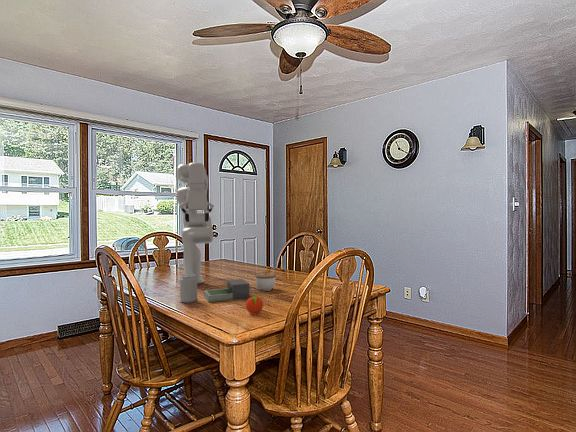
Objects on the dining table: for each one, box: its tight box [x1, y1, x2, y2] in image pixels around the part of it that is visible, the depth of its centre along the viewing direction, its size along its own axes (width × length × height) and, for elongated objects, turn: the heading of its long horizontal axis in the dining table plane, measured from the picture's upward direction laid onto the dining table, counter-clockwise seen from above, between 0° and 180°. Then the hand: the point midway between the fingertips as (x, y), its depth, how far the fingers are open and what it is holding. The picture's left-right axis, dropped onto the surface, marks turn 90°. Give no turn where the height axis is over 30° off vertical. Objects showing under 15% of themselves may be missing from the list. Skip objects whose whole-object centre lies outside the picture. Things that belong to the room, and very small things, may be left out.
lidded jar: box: [254, 270, 277, 292], centre depth 188 cm, size 11×11×9 cm
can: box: [179, 274, 198, 304], centre depth 165 cm, size 8×8×12 cm
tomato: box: [245, 295, 264, 315], centre depth 144 cm, size 8×7×7 cm
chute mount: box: [203, 278, 250, 303], centre depth 171 cm, size 12×19×7 cm, turn 112°
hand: (197, 221), depth 181 cm, fingers open, 9 cm apart
